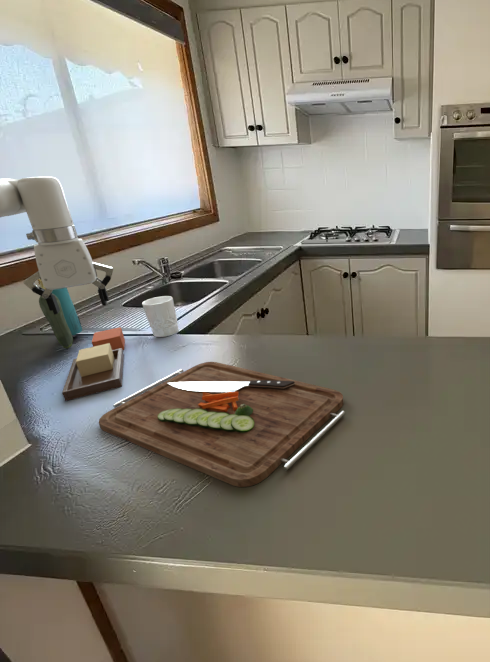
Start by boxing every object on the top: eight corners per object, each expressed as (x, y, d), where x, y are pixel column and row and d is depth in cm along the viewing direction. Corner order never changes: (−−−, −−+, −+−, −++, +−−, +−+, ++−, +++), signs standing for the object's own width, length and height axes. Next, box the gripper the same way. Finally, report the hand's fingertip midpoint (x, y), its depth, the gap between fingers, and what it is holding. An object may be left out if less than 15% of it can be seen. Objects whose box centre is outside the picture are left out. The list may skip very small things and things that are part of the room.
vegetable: (78, 348, 116) (52, 278, 109) (59, 354, 113) (32, 282, 106) (74, 344, 119) (48, 276, 112) (56, 350, 116) (28, 280, 109)
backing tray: (65, 401, 89) (61, 392, 88) (76, 366, 105) (73, 358, 104) (121, 386, 93) (119, 378, 92) (124, 355, 110) (121, 347, 109)
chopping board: (85, 423, 80) (80, 409, 79) (200, 362, 102) (197, 351, 100) (262, 497, 59) (258, 480, 58) (360, 401, 80) (359, 387, 79)
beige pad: (81, 377, 98) (75, 361, 96) (84, 364, 105) (79, 349, 103) (113, 369, 101) (107, 354, 99) (114, 357, 107) (109, 342, 106)
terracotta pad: (96, 356, 110) (91, 342, 109) (98, 345, 117) (94, 332, 116) (124, 349, 113) (119, 336, 112) (125, 340, 120) (120, 326, 118)
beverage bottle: (89, 335, 125) (65, 269, 118) (64, 343, 120) (38, 276, 113) (78, 332, 129) (55, 268, 122) (54, 340, 124) (28, 274, 116)
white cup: (161, 340, 117) (152, 306, 114) (145, 335, 122) (136, 303, 118) (186, 330, 124) (178, 297, 120) (170, 326, 128) (162, 294, 124)
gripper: (3, 243, 87) (33, 321, 93) (100, 232, 94) (122, 305, 100) (13, 239, 93) (40, 311, 99) (103, 228, 100) (123, 297, 106)
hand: (81, 308), depth 100 cm, fingers open, 9 cm apart
